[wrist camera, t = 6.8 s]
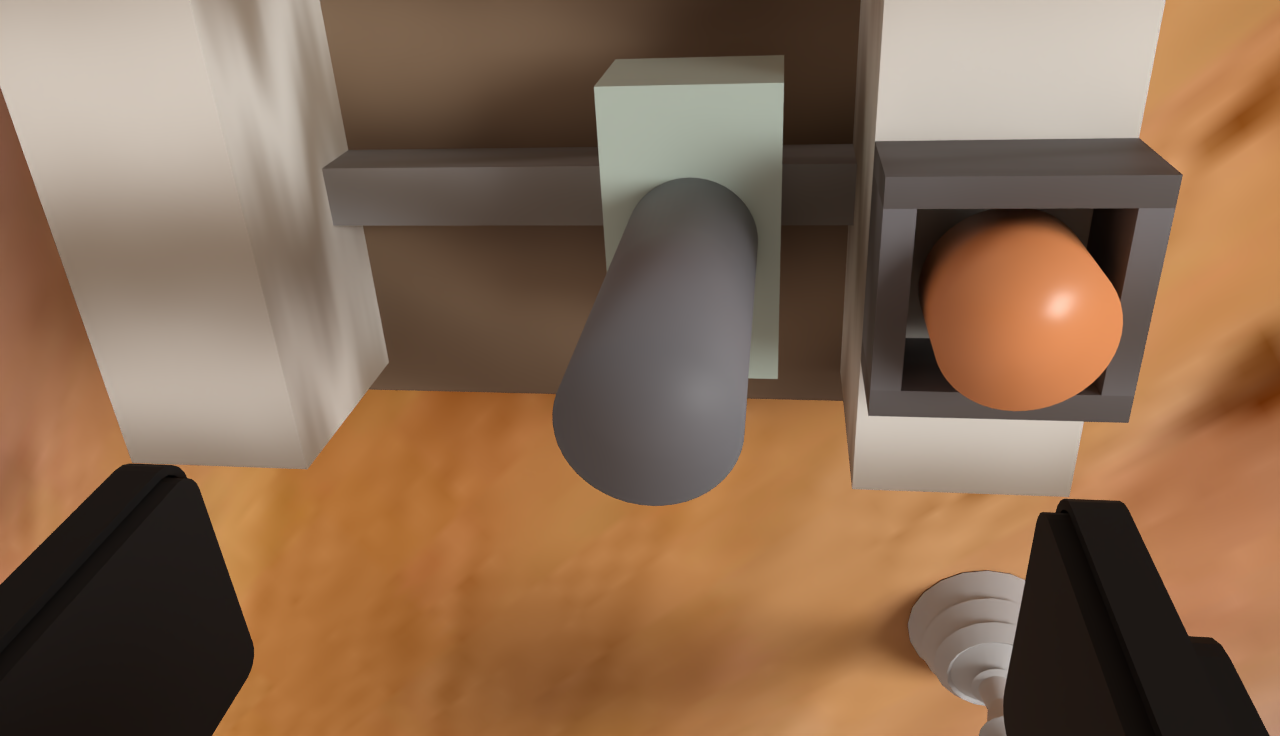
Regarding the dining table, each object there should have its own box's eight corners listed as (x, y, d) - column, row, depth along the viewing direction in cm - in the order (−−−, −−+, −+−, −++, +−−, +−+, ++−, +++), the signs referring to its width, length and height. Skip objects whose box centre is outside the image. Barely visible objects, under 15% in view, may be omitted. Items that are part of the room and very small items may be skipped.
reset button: (925, 206, 19) (941, 248, 17) (1102, 206, 18) (1139, 249, 16) (911, 354, 20) (925, 409, 18) (1074, 357, 20) (1105, 413, 18)
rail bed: (153, -87, 27) (-151, -52, 18) (1076, -132, 23) (1246, -117, 15) (269, 365, 33) (88, 548, 25) (1002, 380, 30) (1090, 598, 21)
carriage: (615, 58, 23) (495, 211, 14) (784, 55, 23) (782, 209, 13) (630, 323, 27) (542, 594, 17) (778, 325, 26) (774, 606, 16)
